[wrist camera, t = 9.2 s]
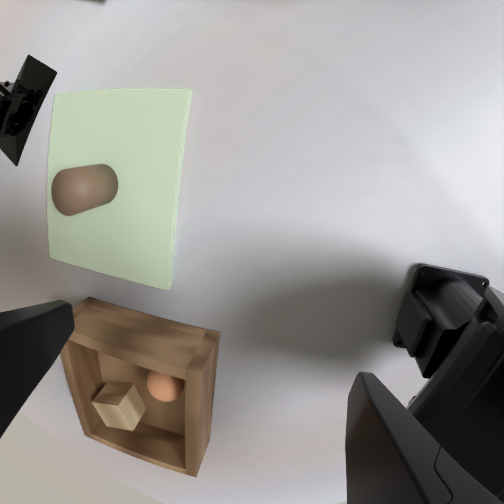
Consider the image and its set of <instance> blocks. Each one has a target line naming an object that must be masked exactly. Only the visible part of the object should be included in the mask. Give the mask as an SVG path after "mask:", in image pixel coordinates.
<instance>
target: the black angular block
mask: <svg viewBox="0 0 504 504" xmlns="http://www.w3.org/2000/svg"><path fill="white" fill-rule="evenodd" d="M56 75H57V72H56V71H55V70H53V69H51V68H50V67H48V66H47V65H45V64H43V63H42V62H40V61H39V60H37V59H35V58H34V57H32V56H30V55H28V56H27V58H26V60H25V62H24V64H23V66H22V68H21V70H20V72H19V74H18V77H17V79H16V81H15V83H10V82H9V81H6V82H0V149H1V150H2V151H3V152H4V153H5V155H6V156H7V157H8V158H9V159H10V160H11V161H12V162H13V163H14V165H15V166H18V163H19V160H20V157H21V154H22V151H23V149H24V146H25V143H26V141H27V138H28V136H29V133H30V131H31V128H32V126H33V123H34V121H35V119H36V116H37V114H38V112H39V109H40V107H41V105H42V103H43V101H44V99H45V97H46V94H47V92H48V90H49V88H50V86H51V84H52V82H53V80H54V79H55V77H56Z"/></svg>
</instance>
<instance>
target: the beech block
mask: <svg viewBox="0 0 504 504" xmlns="http://www.w3.org/2000/svg"><path fill="white" fill-rule="evenodd" d="M92 403H93V405H94V407H95V408H96V410H97V412H98V413H99V415H100V416H101V418H102V420H103V421H104V423H105V424H106V426H108V427H113V428H119V429H125V430H131V431H133V430H134V429H135V427H136V425H137V424H138V422H139V420H140V419H141V417H142V415H143V414H144V412H145V410H146V409H147V408H146V407H145V405H144V403H143V401H142V399H141V397H140V395H139V393H138V391H137V389H136V387H135V385H134V384H129V383H116V382H107V384H106V385H105V386H104V387H103V389H102V390H101V391H100V392H99V394H98V395H97V396H96V397H95V399H94V400H93V401H92Z"/></svg>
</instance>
